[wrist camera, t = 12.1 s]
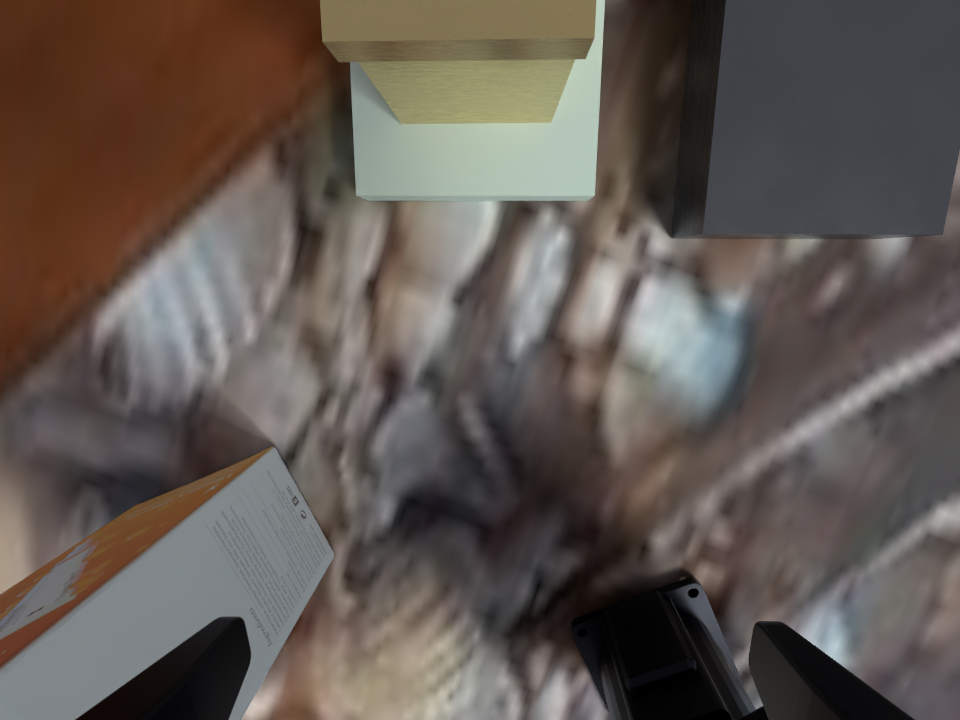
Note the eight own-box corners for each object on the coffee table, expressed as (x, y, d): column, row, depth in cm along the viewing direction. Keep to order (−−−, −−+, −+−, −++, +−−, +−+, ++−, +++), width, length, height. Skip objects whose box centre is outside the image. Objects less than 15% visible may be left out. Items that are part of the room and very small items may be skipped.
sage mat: (587, 200, 19) (594, 195, 17) (367, 200, 19) (356, 195, 18) (599, -58, 17) (609, -88, 16) (356, -53, 17) (343, -82, 16)
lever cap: (550, 140, 17) (594, 38, 9) (401, 141, 17) (322, 41, 10) (555, -2, 16) (608, -249, 8) (397, 0, 16) (306, -238, 9)
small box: (276, 441, 22) (-42, 696, 9) (338, 555, 23) (135, 927, 10) (131, 503, 23) (-345, 813, 10) (197, 609, 24) (-153, 1013, 11)
